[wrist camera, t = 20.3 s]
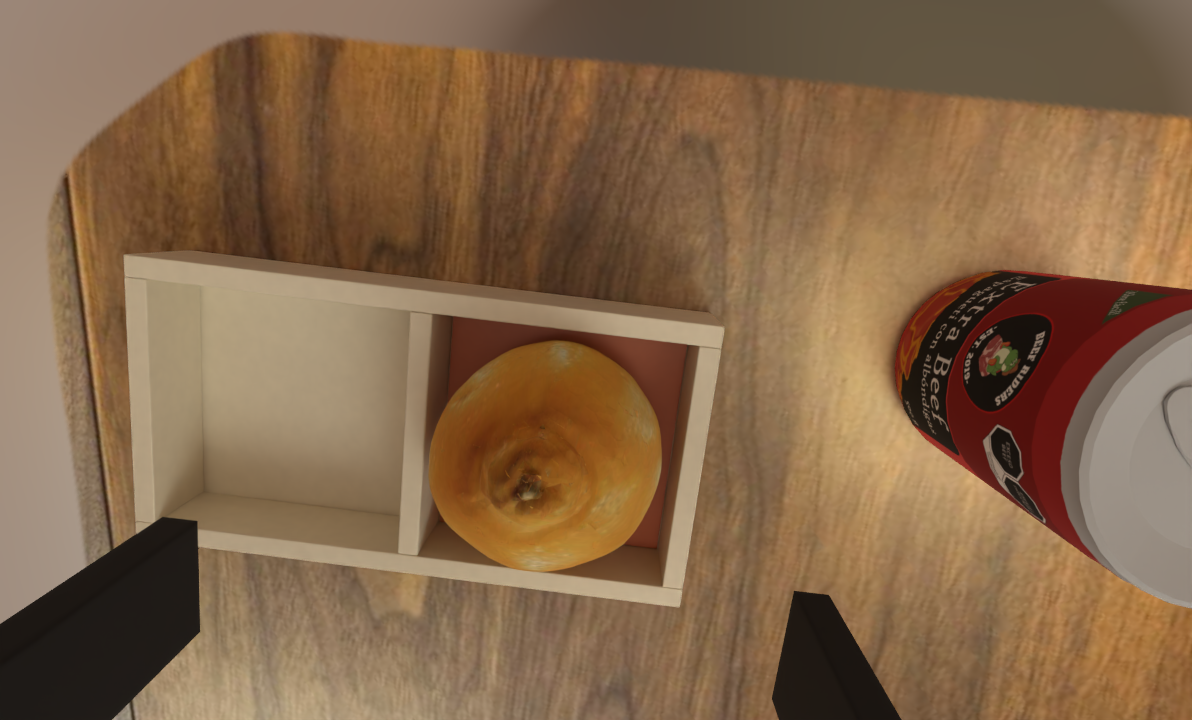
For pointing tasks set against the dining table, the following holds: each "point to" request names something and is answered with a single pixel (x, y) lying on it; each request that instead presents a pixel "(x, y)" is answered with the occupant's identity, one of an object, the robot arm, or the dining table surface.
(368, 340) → the divided tray
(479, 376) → the fruit
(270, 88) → the dining table surface
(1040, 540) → the dining table surface
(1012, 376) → the canned food
